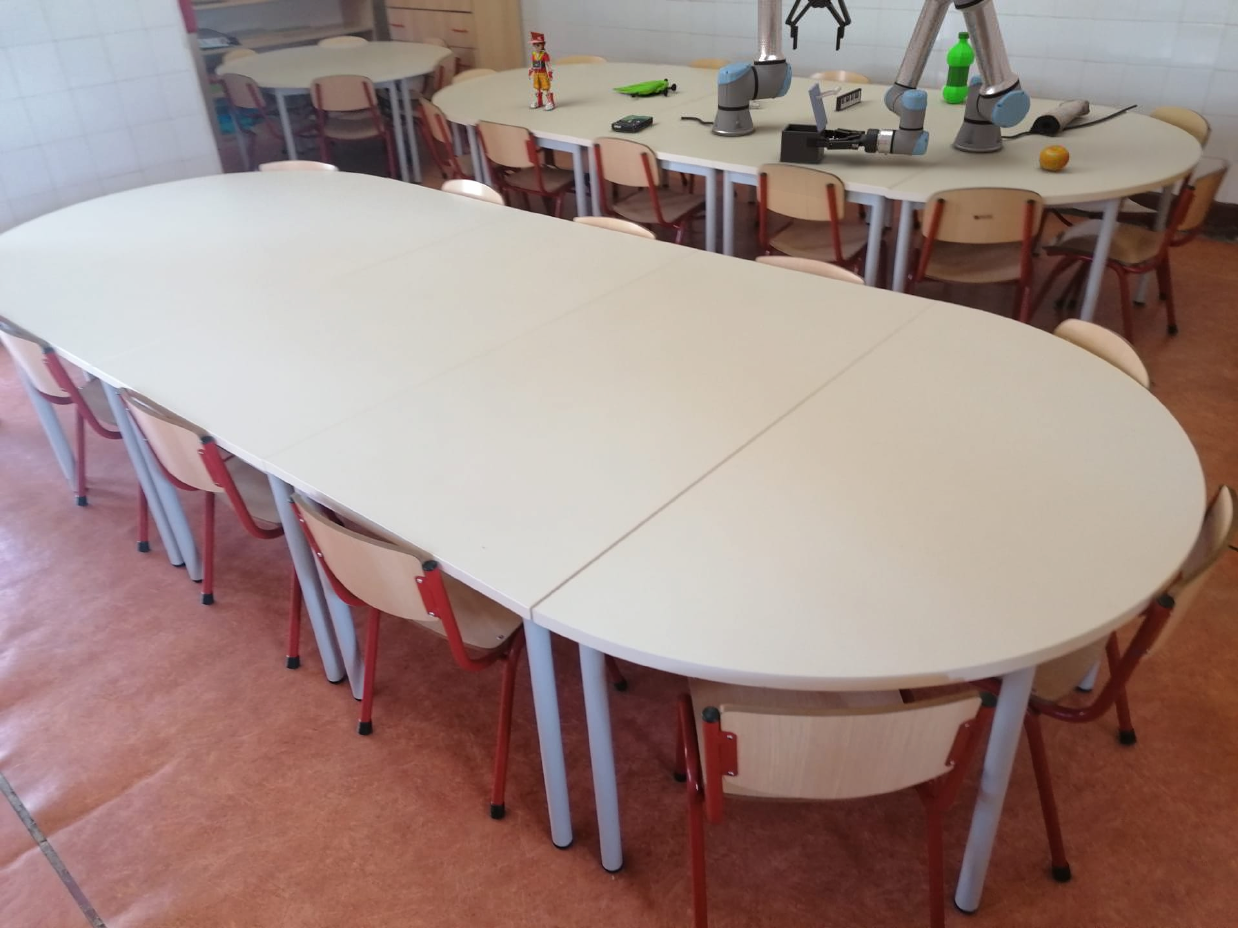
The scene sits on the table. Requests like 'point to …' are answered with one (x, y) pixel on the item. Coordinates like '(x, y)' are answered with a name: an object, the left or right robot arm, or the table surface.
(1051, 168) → the fruit
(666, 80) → the toy
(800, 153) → the chest
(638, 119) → the disk drive
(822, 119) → the lid
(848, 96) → the midi keyboard
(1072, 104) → the rolled mat
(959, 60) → the plastic bottle
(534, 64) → the toy
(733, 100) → the left robot arm
